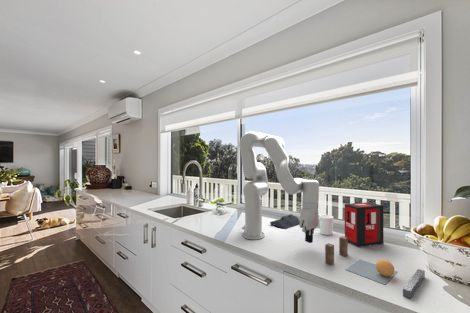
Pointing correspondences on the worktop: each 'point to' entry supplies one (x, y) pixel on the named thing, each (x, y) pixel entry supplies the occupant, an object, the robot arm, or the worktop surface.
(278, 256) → the worktop surface
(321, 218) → the white cup
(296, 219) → the dark slate chunk
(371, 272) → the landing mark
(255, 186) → the robot arm
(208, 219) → the worktop surface
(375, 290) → the worktop surface
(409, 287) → the wall
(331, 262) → the post
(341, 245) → the post
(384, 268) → the ball
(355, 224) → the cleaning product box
